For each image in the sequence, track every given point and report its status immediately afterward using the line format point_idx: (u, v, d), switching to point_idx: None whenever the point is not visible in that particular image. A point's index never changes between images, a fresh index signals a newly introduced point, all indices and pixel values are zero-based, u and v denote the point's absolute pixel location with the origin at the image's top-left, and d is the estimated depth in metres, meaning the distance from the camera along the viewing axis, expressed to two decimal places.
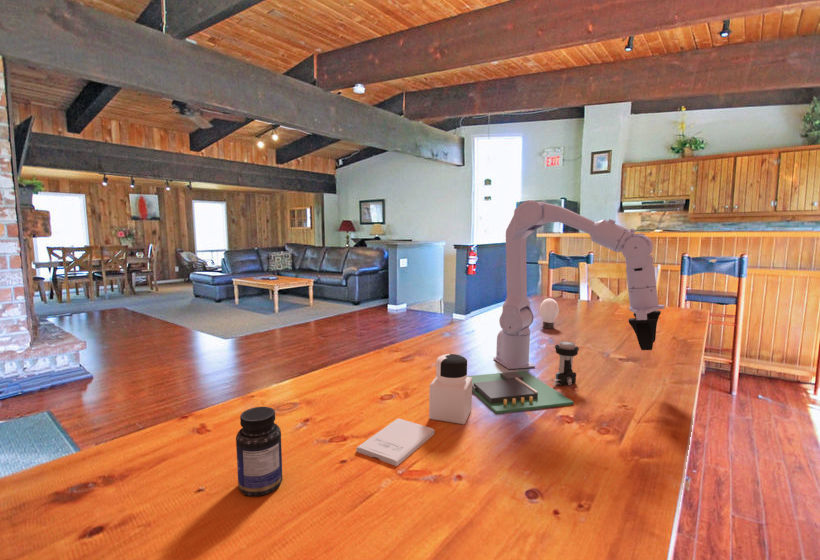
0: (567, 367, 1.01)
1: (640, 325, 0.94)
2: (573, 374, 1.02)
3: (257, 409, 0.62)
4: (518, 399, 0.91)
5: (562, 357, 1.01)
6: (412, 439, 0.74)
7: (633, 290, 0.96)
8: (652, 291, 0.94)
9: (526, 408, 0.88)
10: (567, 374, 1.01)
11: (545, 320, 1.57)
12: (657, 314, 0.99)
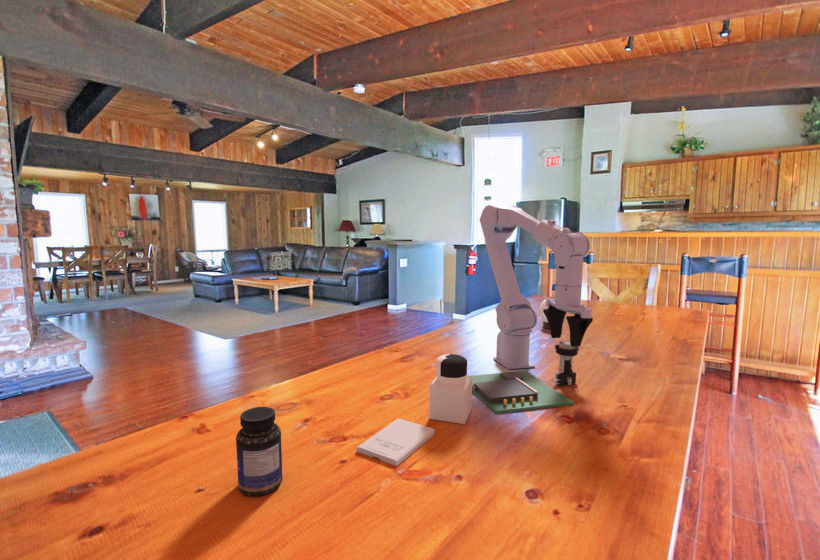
0: (567, 367, 1.01)
1: None
2: (573, 374, 1.02)
3: (257, 409, 0.62)
4: (518, 399, 0.91)
5: (562, 357, 1.01)
6: (412, 439, 0.74)
7: (569, 288, 0.97)
8: None
9: (526, 408, 0.88)
10: (567, 374, 1.01)
11: (545, 320, 1.57)
12: (565, 311, 1.04)
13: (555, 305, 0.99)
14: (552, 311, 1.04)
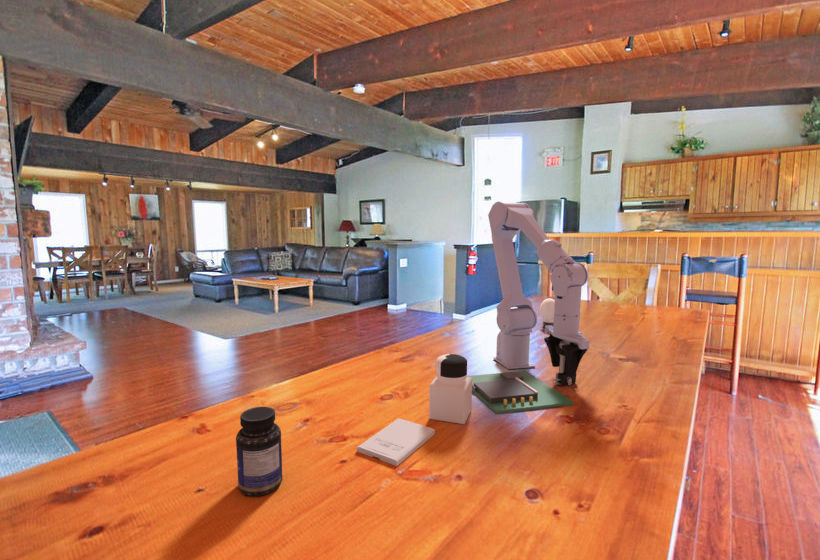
0: None
1: None
2: None
3: (257, 409, 0.62)
4: (518, 399, 0.91)
5: (562, 357, 1.01)
6: (412, 439, 0.74)
7: (567, 318, 0.98)
8: (579, 319, 0.99)
9: (526, 408, 0.88)
10: None
11: (545, 320, 1.57)
12: None
13: (553, 334, 1.00)
14: (552, 340, 1.04)
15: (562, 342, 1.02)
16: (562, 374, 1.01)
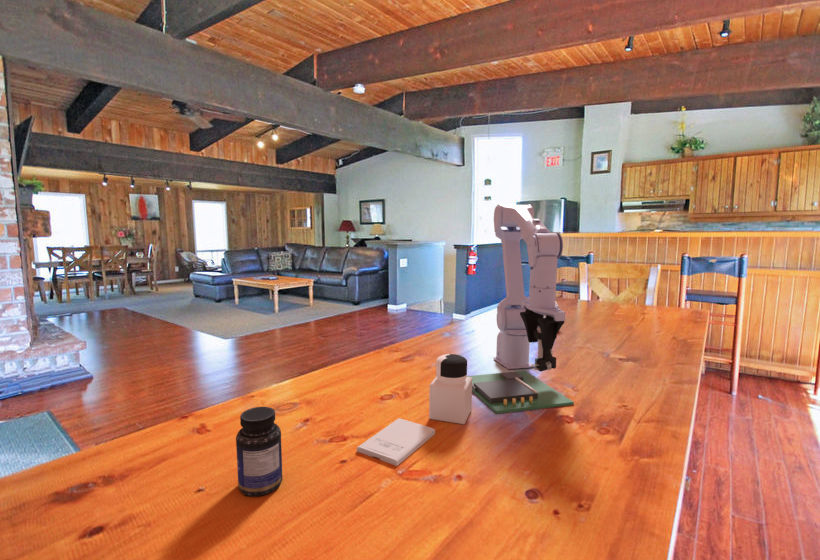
0: (546, 351, 0.97)
1: None
2: (553, 359, 0.98)
3: (257, 409, 0.62)
4: (518, 399, 0.91)
5: (540, 342, 0.97)
6: (412, 439, 0.74)
7: (543, 290, 0.93)
8: (555, 291, 0.95)
9: (526, 408, 0.88)
10: (546, 359, 0.97)
11: None
12: None
13: (529, 307, 0.96)
14: (528, 314, 0.99)
15: None
16: (541, 359, 0.98)
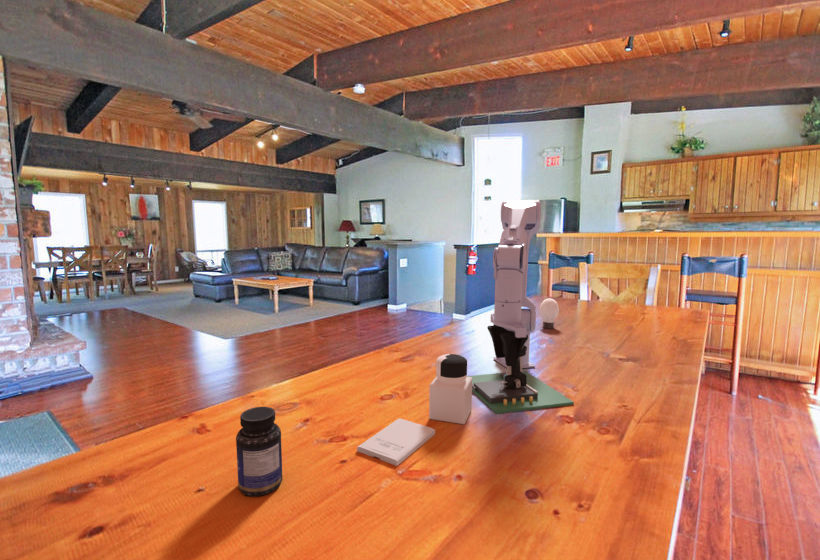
0: (514, 368, 0.94)
1: None
2: (523, 376, 0.95)
3: (257, 409, 0.62)
4: (518, 399, 0.91)
5: None
6: (413, 439, 0.74)
7: (506, 304, 0.90)
8: (520, 306, 0.91)
9: (526, 408, 0.88)
10: (514, 376, 0.94)
11: (545, 320, 1.57)
12: None
13: (493, 322, 0.93)
14: (495, 328, 0.96)
15: None
16: (509, 376, 0.94)
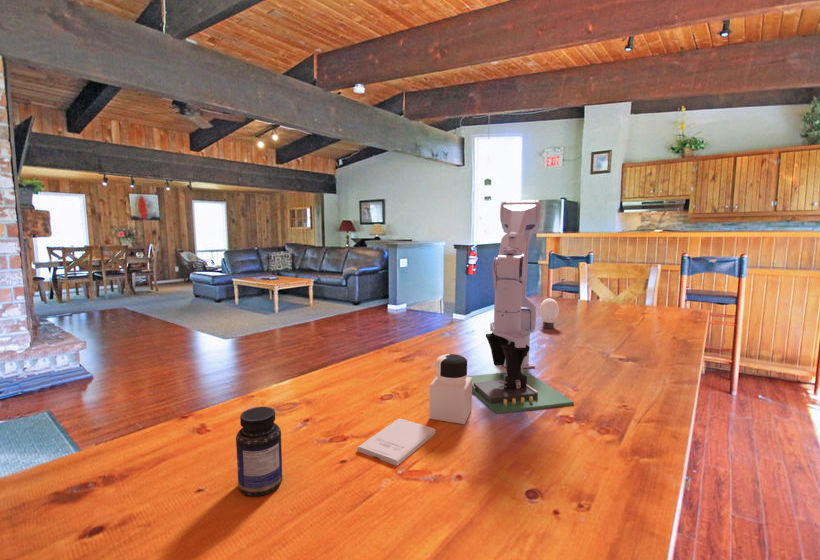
0: None
1: (511, 351, 0.89)
2: (523, 377, 0.95)
3: (257, 409, 0.62)
4: (518, 399, 0.91)
5: None
6: (413, 439, 0.74)
7: (505, 314, 0.90)
8: (520, 315, 0.91)
9: (526, 408, 0.88)
10: (515, 377, 0.94)
11: (545, 320, 1.57)
12: None
13: (493, 331, 0.93)
14: (493, 336, 0.97)
15: None
16: (510, 377, 0.94)
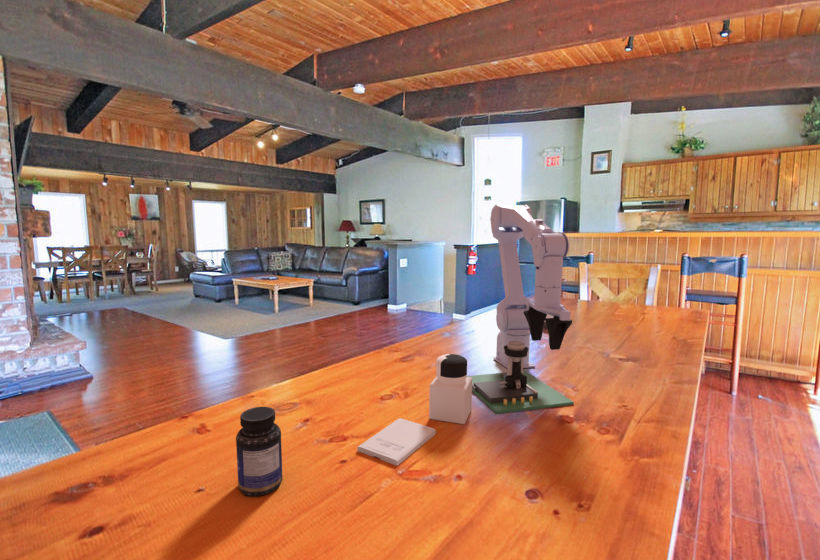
0: (515, 369, 0.94)
1: None
2: (523, 377, 0.95)
3: (257, 409, 0.62)
4: (518, 399, 0.91)
5: (510, 358, 0.94)
6: (413, 439, 0.74)
7: (548, 289, 0.94)
8: (560, 291, 0.96)
9: (526, 408, 0.88)
10: (515, 377, 0.94)
11: None
12: None
13: (534, 307, 0.97)
14: (532, 312, 1.01)
15: (510, 342, 0.95)
16: (510, 377, 0.94)
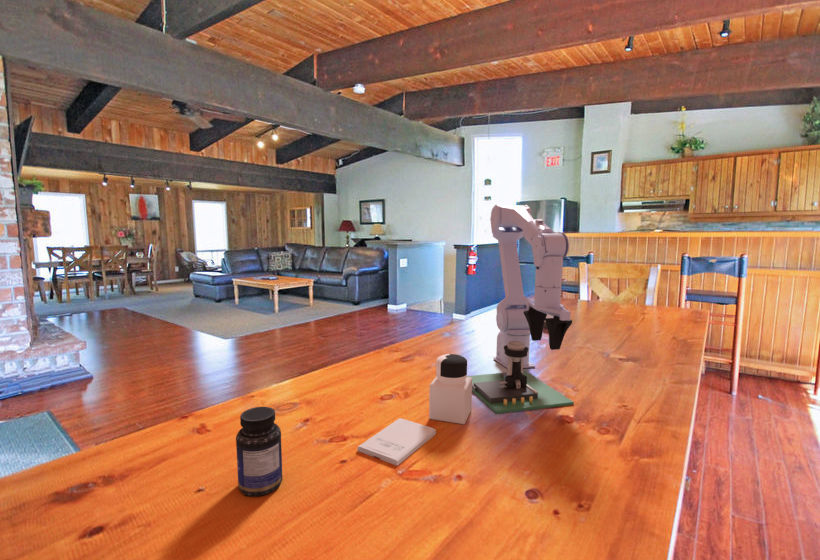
0: (515, 369, 0.94)
1: None
2: (523, 377, 0.95)
3: (257, 409, 0.62)
4: (518, 399, 0.91)
5: (510, 358, 0.94)
6: (413, 439, 0.74)
7: (548, 289, 0.94)
8: (560, 291, 0.96)
9: (526, 408, 0.88)
10: (515, 377, 0.94)
11: None
12: None
13: (534, 307, 0.97)
14: (532, 312, 1.01)
15: (510, 342, 0.95)
16: (510, 377, 0.94)
